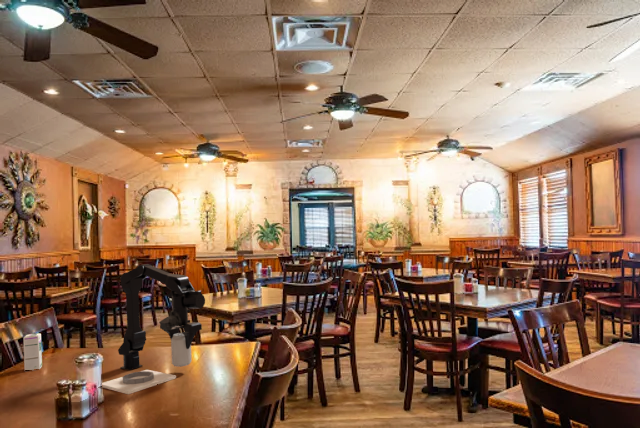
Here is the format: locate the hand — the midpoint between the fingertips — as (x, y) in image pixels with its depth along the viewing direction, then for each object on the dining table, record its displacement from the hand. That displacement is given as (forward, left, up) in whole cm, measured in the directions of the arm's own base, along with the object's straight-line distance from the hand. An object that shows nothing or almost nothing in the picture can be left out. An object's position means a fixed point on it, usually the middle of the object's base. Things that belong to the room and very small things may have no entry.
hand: (181, 347), depth 187 cm
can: (0, 0, -7) cm, 7 cm away
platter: (-5, -16, -10) cm, 19 cm away
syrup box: (-65, -26, -10) cm, 71 cm away
